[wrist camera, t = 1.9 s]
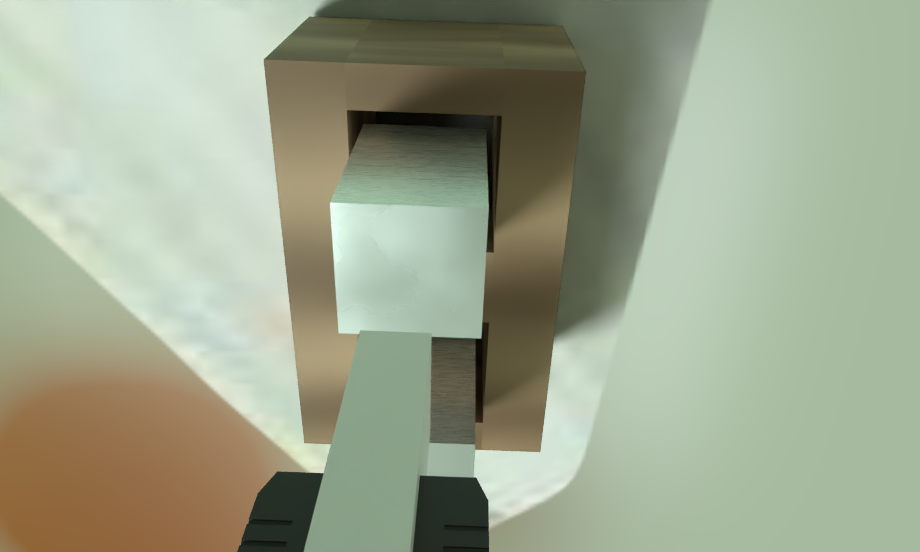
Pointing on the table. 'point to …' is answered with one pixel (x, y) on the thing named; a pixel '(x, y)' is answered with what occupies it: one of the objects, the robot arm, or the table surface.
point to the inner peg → (412, 231)
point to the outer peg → (452, 407)
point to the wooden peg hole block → (509, 190)
